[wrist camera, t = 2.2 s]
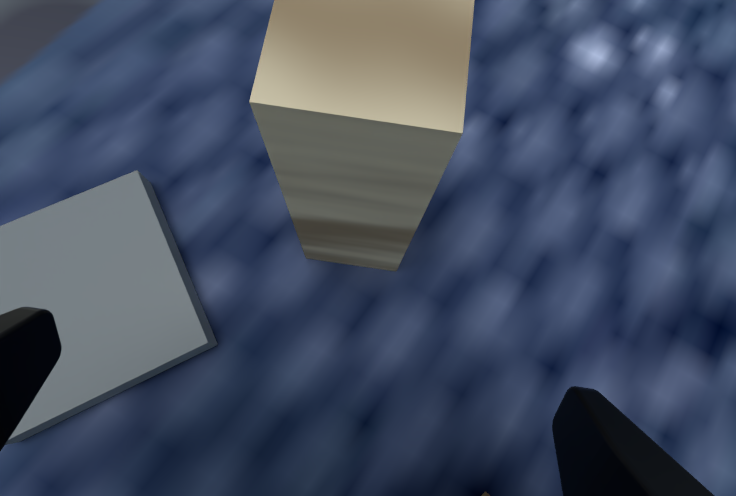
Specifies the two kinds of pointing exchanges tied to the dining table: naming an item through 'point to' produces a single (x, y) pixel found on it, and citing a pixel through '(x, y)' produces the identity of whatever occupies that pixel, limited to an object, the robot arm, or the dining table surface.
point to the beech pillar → (362, 117)
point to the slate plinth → (101, 295)
